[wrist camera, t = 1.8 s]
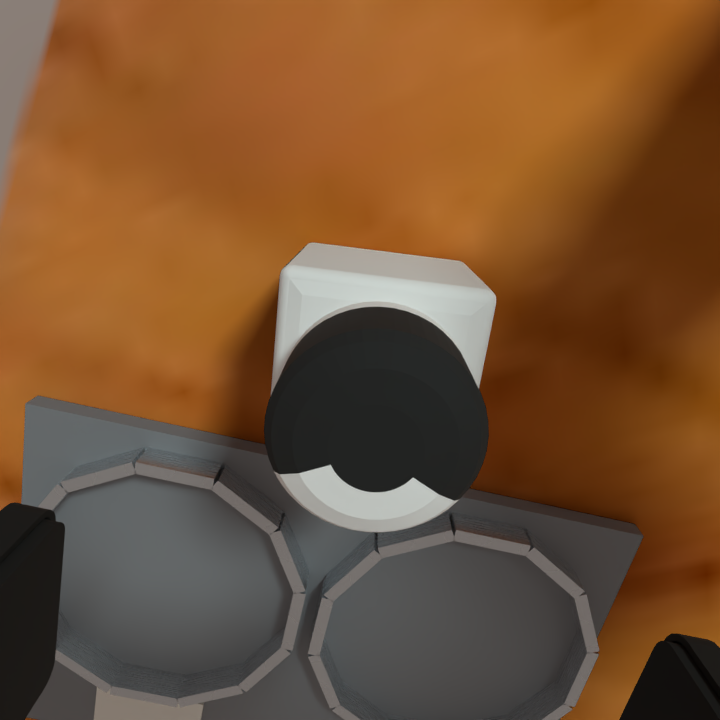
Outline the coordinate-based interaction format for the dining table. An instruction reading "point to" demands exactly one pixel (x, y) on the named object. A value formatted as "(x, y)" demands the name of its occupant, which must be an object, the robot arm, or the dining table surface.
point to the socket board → (273, 591)
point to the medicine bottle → (378, 385)
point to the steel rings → (359, 714)
